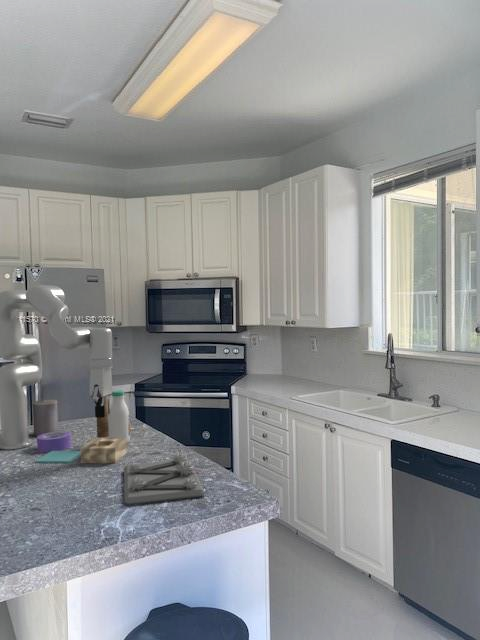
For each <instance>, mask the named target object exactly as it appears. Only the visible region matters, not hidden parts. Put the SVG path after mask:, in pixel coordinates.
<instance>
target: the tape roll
mask: <svg viewBox="0 0 480 640" xmlns="http://www.w3.org/2000/svg"><path fill="white" fill-rule="evenodd" d="M71 442H72V441H71V432H69V431H59V430H58V432H49V433H45V434H41V435H39V436H38V437H36V443H37V444H36V445H37V451H38V452H40V453H49V452H51V451H66V450H68V449H70V447H72V445H71V444H72V443H71Z"/></svg>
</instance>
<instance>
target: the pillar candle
mask: <svg viewBox="0 0 480 640" xmlns="http://www.w3.org/2000/svg"><path fill="white" fill-rule="evenodd" d="M58 413H59V411H58V400H57V399H41V400H36V401H33V402H32V414H33V415H32V418H33V419H32V420H33V436H34V437H36V438H37V437H38V436H39V435H41V434H45V433H49V432H58V431H59V414H58Z"/></svg>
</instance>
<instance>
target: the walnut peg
mask: <svg viewBox="0 0 480 640" xmlns="http://www.w3.org/2000/svg"><path fill="white" fill-rule="evenodd" d="M98 397H101V396H100V395H98ZM100 400H101V399H100ZM103 406H105V417H103V418H97V417H96V437H97V438H98V439H104V438H107V437H108V438H109V414H108V395H106V396H104V404H103Z"/></svg>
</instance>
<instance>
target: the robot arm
mask: <svg viewBox="0 0 480 640" xmlns="http://www.w3.org/2000/svg"><path fill="white" fill-rule="evenodd" d="M65 301H66V295H65V292H64V291H63V289H62V288H60V287H59V286H57V285H47V284H46V285H45V284H36V285H35V284H34V285H32V286H30V287H29V288H28V289H27V290H26V289H7V290H3V291H1V292H0V358H1V359H2V360H4V361H5V360H6V361H13V360H14V361H15V360H21V362H14V363H8V364H5V365H3V366H1V367H0V425H1V426H0V430H1V431H0V432H1V434H0V450H5V451H6V450H7V451H8V450H18V449H19V450H20V449H22V448H23V449H24V448H27V447H30V446H32V445H33V444H34V440H33V438H29V436H30V435H29V413H28V398H27V394H26V393H25V391H24V390H23V388H24V387H29V386H32V385H33V386H34V385H36V384H38V383H40V381H41V380H42V377H43V361H42V349H41V343H40V341H39V339H38V338H37V337H36V336H35V335H33V334H29V333H27V334H23V333H22V323H21V321H20V319H19V317H18V316H17V315H16V313H35V312H38V314H39V315H41V316H42V317H43V318H44V319H45V320H46V321H47V322H48V326H47V327H48V329H49V330H48V331H49V334H50V335H51V337H52V338H53V339H54V340H55V341H56V342H57V343H58V344H59V345H60V346H62V347H63V348H65V349H68V350H72V351H73V350H81V349H89V368H90V375H89V389H88V390H89V393H88V394H89V397H90V398H92V401H93V402H94V415H95V416H94V417H95V418H96V419H97V418H103V417H105V406H103V404H104V396H106V395H108V415H109V414H110V402H111V401H110V395H111V394H112V392H113V375H112V368H113V367H114V366H113V332H112V329H111V328H109V327H95V326H79V327H78V326H77V327H71V326H70V325H68V323H67V322H65V321H64V320H66V318H67V317H68V315H69V308H68V307H69V306H67V304H65ZM99 395H100V396H101V397H98V396H99ZM100 399H101V400H100Z"/></svg>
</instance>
